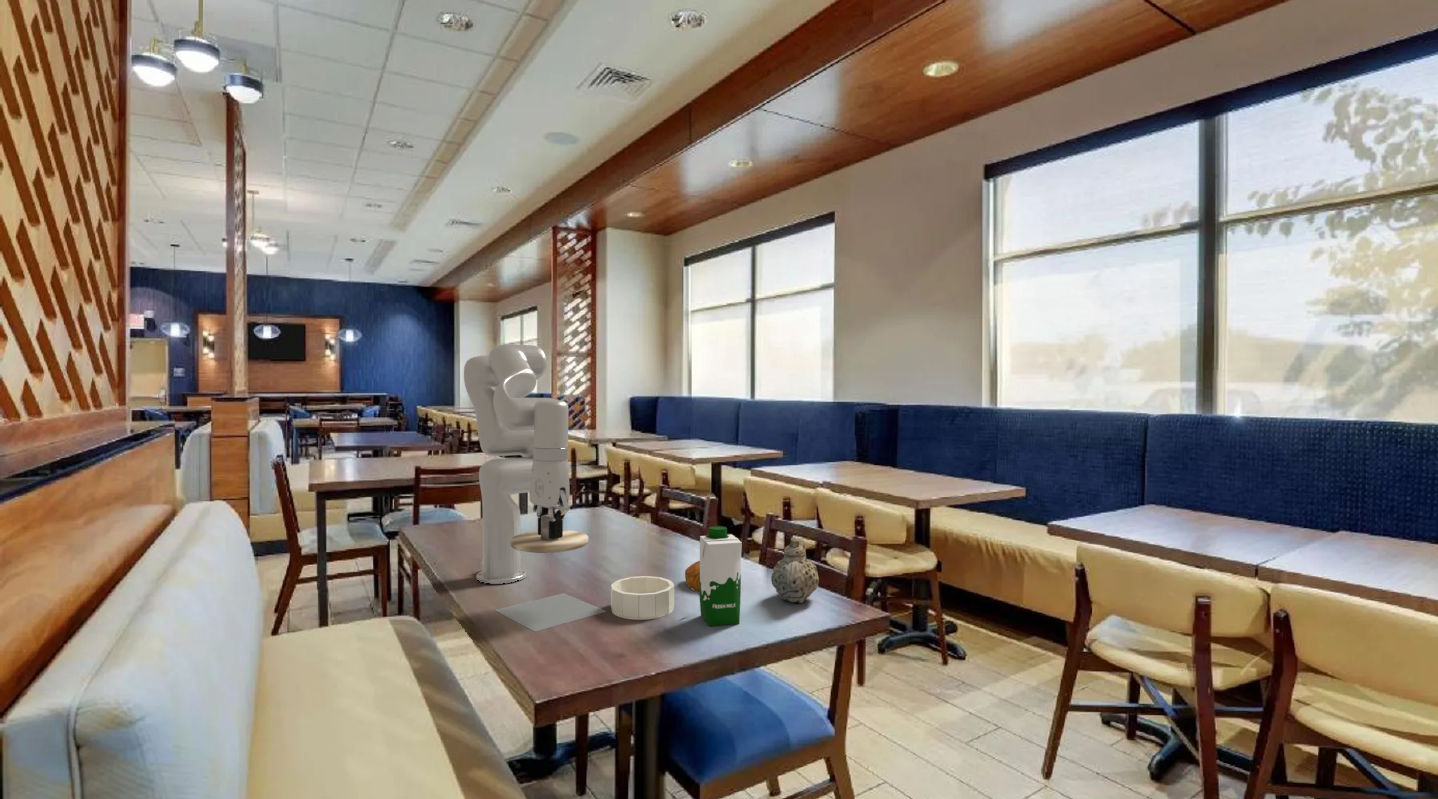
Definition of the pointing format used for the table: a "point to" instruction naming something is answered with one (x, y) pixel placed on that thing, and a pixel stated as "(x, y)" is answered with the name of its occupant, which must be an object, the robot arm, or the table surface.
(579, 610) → the mat
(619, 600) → the bowl
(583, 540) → the lid
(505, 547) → the robot arm
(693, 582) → the croissant
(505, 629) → the table surface
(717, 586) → the milk carton
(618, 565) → the table surface
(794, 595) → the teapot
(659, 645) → the table surface
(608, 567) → the table surface
